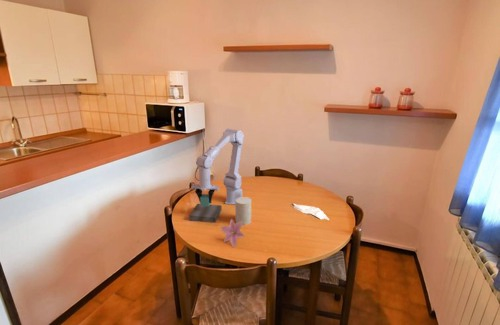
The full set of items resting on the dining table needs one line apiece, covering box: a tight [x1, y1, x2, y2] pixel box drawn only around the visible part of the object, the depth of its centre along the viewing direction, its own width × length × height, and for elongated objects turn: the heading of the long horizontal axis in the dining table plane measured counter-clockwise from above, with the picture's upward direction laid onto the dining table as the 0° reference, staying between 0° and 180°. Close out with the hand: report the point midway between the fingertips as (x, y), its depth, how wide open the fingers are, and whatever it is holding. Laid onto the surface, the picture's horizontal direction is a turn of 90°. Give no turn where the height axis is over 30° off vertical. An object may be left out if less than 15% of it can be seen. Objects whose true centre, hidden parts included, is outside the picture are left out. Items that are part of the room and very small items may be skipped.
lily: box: [220, 218, 246, 248], centre depth 128 cm, size 12×12×10 cm
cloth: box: [291, 202, 330, 221], centre depth 157 cm, size 26×14×2 cm, turn 32°
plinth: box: [188, 203, 223, 224], centre depth 150 cm, size 14×14×3 cm
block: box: [199, 193, 212, 207], centre depth 148 cm, size 4×4×5 cm
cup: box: [235, 196, 252, 226], centre depth 144 cm, size 8×8×12 cm
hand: (205, 201), depth 148 cm, fingers closed on block, 4 cm apart
